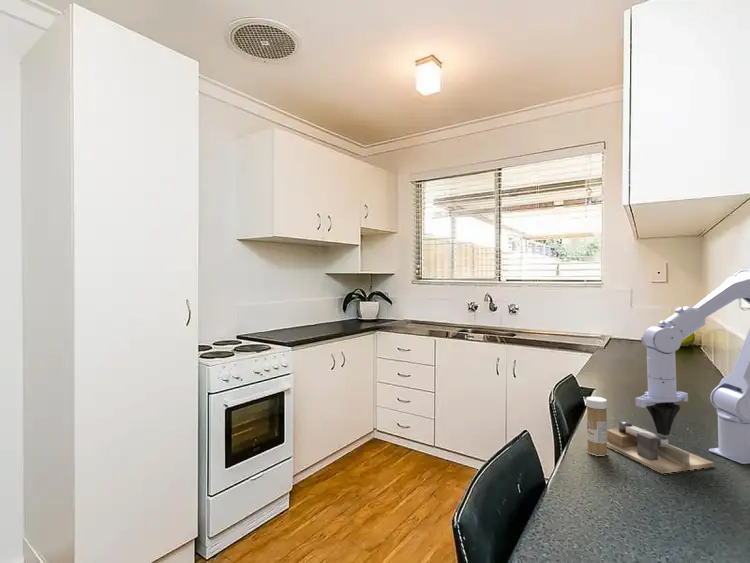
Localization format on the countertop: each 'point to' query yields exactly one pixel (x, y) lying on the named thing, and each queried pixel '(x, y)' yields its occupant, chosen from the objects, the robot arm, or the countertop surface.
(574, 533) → the countertop surface
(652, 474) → the countertop surface
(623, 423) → the bar
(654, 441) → the wooden base plank
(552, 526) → the countertop surface
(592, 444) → the sprinkles bottle
